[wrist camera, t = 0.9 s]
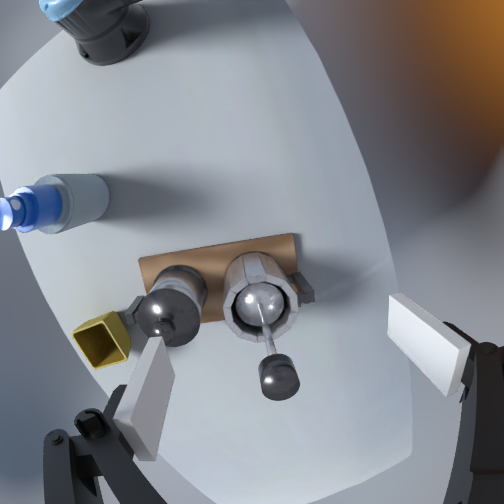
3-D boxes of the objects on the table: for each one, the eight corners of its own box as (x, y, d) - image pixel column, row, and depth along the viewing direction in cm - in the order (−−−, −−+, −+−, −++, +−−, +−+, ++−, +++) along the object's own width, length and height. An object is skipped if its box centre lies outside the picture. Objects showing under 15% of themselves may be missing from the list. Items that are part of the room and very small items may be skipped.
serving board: (140, 257, 51) (138, 259, 50) (291, 232, 52) (293, 234, 51) (158, 325, 55) (156, 328, 53) (299, 303, 56) (300, 306, 54)
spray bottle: (97, 165, 46) (11, 160, 22) (117, 206, 49) (38, 229, 24) (64, 189, 47) (-26, 202, 23) (82, 229, 49) (-1, 265, 25)
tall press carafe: (219, 256, 51) (216, 281, 38) (293, 244, 51) (314, 264, 39) (229, 310, 53) (230, 347, 41) (299, 298, 54) (318, 331, 41)
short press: (135, 271, 50) (100, 307, 34) (201, 260, 51) (189, 295, 35) (148, 320, 53) (123, 369, 37) (212, 311, 53) (206, 362, 37)
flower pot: (119, 300, 53) (103, 320, 44) (140, 336, 55) (128, 360, 46) (88, 313, 53) (69, 333, 44) (108, 347, 55) (94, 370, 46)
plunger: (232, 285, 41) (235, 364, 23) (280, 277, 41) (317, 349, 23) (240, 327, 43) (248, 418, 24) (285, 319, 43) (319, 404, 25)
